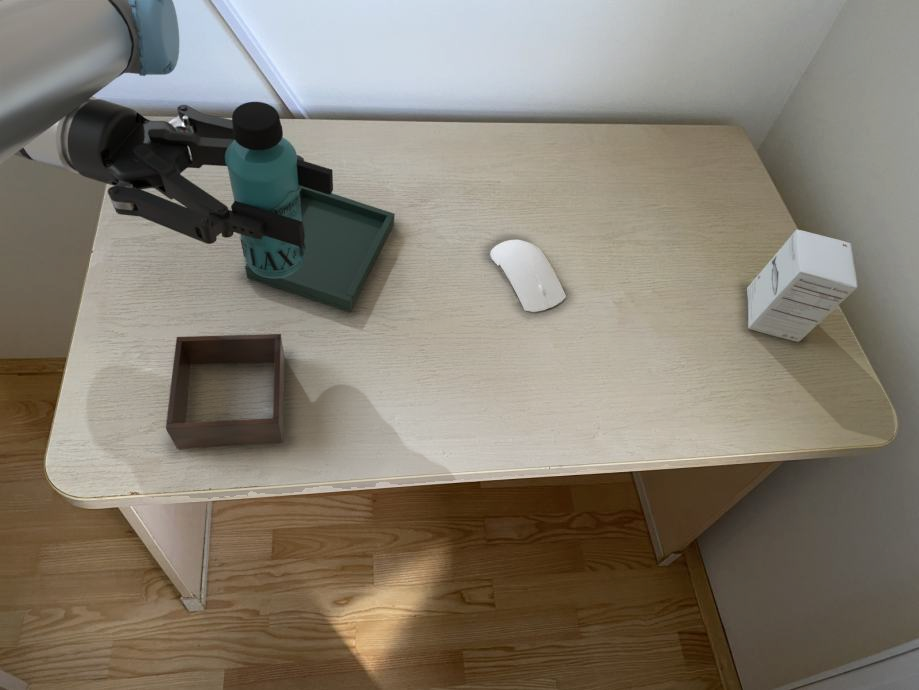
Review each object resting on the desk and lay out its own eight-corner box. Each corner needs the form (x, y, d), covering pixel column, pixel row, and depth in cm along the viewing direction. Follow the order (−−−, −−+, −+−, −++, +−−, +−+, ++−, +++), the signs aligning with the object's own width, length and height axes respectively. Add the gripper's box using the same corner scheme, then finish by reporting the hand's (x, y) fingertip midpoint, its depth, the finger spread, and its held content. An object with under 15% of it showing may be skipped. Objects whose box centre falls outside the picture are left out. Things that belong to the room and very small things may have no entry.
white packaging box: (744, 287, 92) (795, 226, 82) (796, 301, 92) (854, 241, 82) (745, 330, 88) (799, 271, 78) (799, 344, 88) (860, 287, 78)
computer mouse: (527, 316, 84) (531, 306, 82) (482, 249, 89) (485, 238, 88) (570, 300, 87) (575, 289, 85) (524, 235, 92) (527, 224, 90)
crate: (176, 449, 69) (165, 428, 65) (186, 360, 75) (176, 336, 71) (283, 443, 71) (278, 423, 67) (284, 357, 77) (280, 333, 72)
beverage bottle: (234, 277, 70) (197, 125, 54) (264, 234, 74) (238, 79, 57) (291, 297, 70) (271, 151, 53) (318, 253, 74) (308, 103, 57)
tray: (350, 312, 81) (350, 301, 79) (247, 278, 82) (244, 266, 80) (393, 225, 90) (394, 213, 88) (300, 194, 90) (299, 182, 88)
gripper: (153, 109, 72) (353, 170, 71) (43, 235, 61) (277, 309, 60) (133, 46, 66) (353, 113, 65) (7, 174, 55) (268, 256, 54)
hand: (316, 207), depth 63 cm, fingers closed on beverage bottle, 6 cm apart
